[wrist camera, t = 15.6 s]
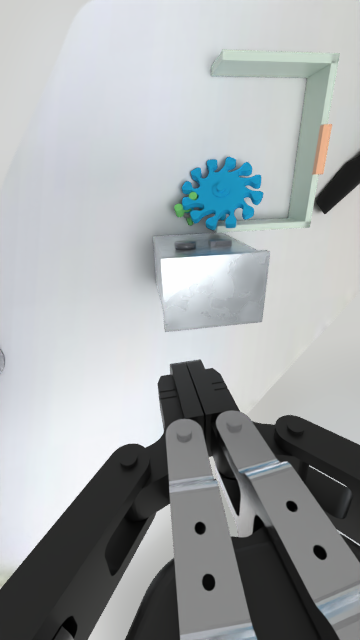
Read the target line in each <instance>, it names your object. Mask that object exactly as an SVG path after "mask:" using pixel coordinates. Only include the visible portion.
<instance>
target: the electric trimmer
mask: <svg viewBox="0 0 360 640" xmlns="http://www.w3.org/2000/svg"><path fill="white" fill-rule="evenodd" d="M359 184H360V156H358V157H357V158H355V159H353V160H351V161H349V162H347V163H346V164H345V165H344V167H343V168H342V169H341V170H340V171H339V173H338V174H337V175H336V176H335V177H334V179H333V180H332V181H331V182H330V184H329V185H328V186H327V187H326V189H325V190H324V191H323V192H322V194H321V195H320V196H319V197H318V199H317V200H316V202H317V204H318V205H319V207H320V208H321V210H322V211H323V213H324V214H326V213H327V212H328V211H329V210H331V209H332V208H333V207H334V206H335V205H336V204H337V203H338V202H339V201H341V200H342V199H343V198H344V197H345V196H346V195H347V194H348V193H350V192H351V191H352V190H353V189H354V188H355V187H356V186H357V185H359Z"/></svg>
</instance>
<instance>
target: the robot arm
mask: <svg viewBox="0 0 360 640" xmlns="http://www.w3.org/2000/svg"><path fill="white" fill-rule="evenodd" d="M4 362H5V360H4V356H3V354H2V352H1V350H0V373H1V372H2V371H3V368H4ZM158 392H159V401H160V410H161V416H162V422H163V428H164V433H163V435H162V436H161V438H160V439H159V440H158V441H157V442H155V443H154V444H152V445H150V446H148V447H146V448H144V447H143V446H141V445H139V444H127V445H124V446H122V447H120V448H118V449H117V450H116V451H115V452H114V453H113V454H112V455H111V456H110V458H109V459H108V460H107V461H106V462H105V464H104V465H103V466H102V467H101V468H100V470H99V471H98V472H97V473H96V474H95V476H94V477H93V478H92V479H91V480H90V482H89V483H88V484H87V485H86V486H85V488H84V489H83V490H82V491H81V493H80V494H79V495H78V496H77V497H76V499H75V500H74V501H73V502H72V503H71V505H70V506H69V507H68V508H67V509H66V511H65V512H64V513H63V514H62V515H61V517H60V518H59V519H58V520H57V521H56V523H55V524H54V525H53V526H52V528H51V529H50V530H49V531H48V532H47V534H46V535H45V536H44V537H43V538H42V540H41V541H40V542H39V543H38V544H37V546H36V547H35V548H34V549H33V550H32V552H31V553H30V554H29V555H28V556H27V558H26V559H25V560H24V561H23V563H22V564H21V565H20V566H19V567H18V569H17V570H16V571H15V572H14V573H13V575H12V576H11V577H10V578H9V579H8V581H7V582H6V583H5V584H4V585H3V587H2V588H1V589H0V640H88V638H89V636H90V634H91V632H92V631H93V629H94V627H95V625H96V623H97V621H98V619H99V618H100V616H101V614H102V612H103V611H104V609H105V607H106V605H107V603H108V601H109V600H110V598H111V596H112V594H113V592H114V590H115V588H116V587H117V585H118V583H119V581H120V580H121V578H122V576H123V574H124V572H125V570H126V568H127V567H128V565H129V563H130V561H131V559H132V558H133V556H134V554H135V552H136V550H137V548H138V547H139V545H140V543H141V541H142V539H143V537H144V536H145V534H146V532H147V530H148V529H149V527H150V525H151V523H152V521H153V519H154V517H155V515H156V512H157V511H159V510H160V509H162V508H164V507H165V506H167V505H168V504H170V506H171V519H172V534H173V547H174V558H173V559H172V560H171V561H170V562H168V563H167V564H166V565H165V566H164V567H163V568H162V569H161V570H160V571H159V573H158V574H157V575H156V576H155V578H154V579H153V581H152V582H151V584H150V586H149V587H148V589H147V591H146V593H145V596H144V597H143V600H142V602H141V604H140V606H139V609H138V611H137V613H136V616H135V618H134V620H133V622H132V625H131V627H130V629H129V632H128V635H127V636H126V639H125V640H360V546H359V545H357V544H356V543H354V542H353V541H351V540H350V539H348V538H347V537H345V536H343V535H342V534H339V532H338V531H337V530H339V531H340V532H342V533H343V534H345V535H346V536H348V537H349V538H351V539H353V540H354V541H356V542H357V543H359V544H360V445H359V444H356V443H354V442H352V441H350V440H348V439H346V438H343V437H341V436H339V435H337V434H335V433H333V432H331V431H329V430H326V429H324V428H322V427H320V426H318V425H315V424H313V423H311V422H309V421H307V420H305V419H303V418H300V417H297V416H293V415H286V416H282V417H280V418H279V419H278V420H277V421H276V424H275V425H271V424H261V423H255V422H253V421H251V419H250V418H249V417H248V416H247V415H245V414H244V413H242V412H240V411H239V409H238V407H237V405H236V403H235V401H234V399H233V397H232V395H231V394H230V392H229V390H228V389H227V386H226V384H225V383H224V380H223V378H222V376H221V374H220V373H218V372H217V371H216V370H214V369H213V368H210V369H205V368H204V366H203V363H202V361H201V360H194V361H187V362H180V363H174V364H170V375H165V376H161V377H160V379H159V382H158ZM211 456H213V458H214V461H215V472H216V476H217V479H218V481H219V483H220V486H221V488H222V491H223V493H224V496H225V498H226V500H227V503H228V505H229V508H230V510H231V513H232V515H233V518H234V520H235V523H236V526H237V531H238V537H231V536H230V532H229V528H228V524H227V520H226V515H225V511H224V507H223V503H222V499H221V495H220V490H219V486H218V483H217V480H216V479H214V477H213V474H212V469H211V465H210V461H209V457H211ZM309 465H310V466H312V467H314V468H316V469H318V470H319V471H321V472H323V473H325V474H326V475H328V476H330V477H332V478H334V479H335V480H337V481H339V482H341V483H342V484H344V485H346V486H347V487H345V486H343V485H341V484H340V483H338V482H336V481H334V480H332V479H331V478H329V477H327V476H325V475H324V474H322V473H320V472H318V471H317V470H315V469H313V468H311V467H309Z"/></svg>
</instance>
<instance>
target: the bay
mask: <svg viewBox="0 0 360 640" xmlns="http://www.w3.org/2000/svg"><path fill="white" fill-rule="evenodd" d="M339 56H340V53H313V52H283V51H252V50H222V52H221V53H220V55H219V56H218V58H217V59H216V61H215V62H214V64H213V65H212V67H211V76H234V77H284V78H307V83H306V90H305V98H304V105H303V112H302V119H301V127H300V134H299V141H298V148H297V156H296V163H295V170H294V177H293V185H292V192H291V199H290V206H289V214H288V218H278V219H258V220H239V221H237V222H236V227H235V228H226V226H225V221H219V222H217V227H216V229H215V230H213V231H215V232H217V233H221V232H238V231H256V230H274V229H291V228H309V227H310V223H311V217H312V211H313V205H314V200H315V194H316V188H317V182H318V177H319V174H323V172H324V167H325V161H326V155H327V150H328V144H329V139H330V133H331V128H332V124H328V119H329V113H330V107H331V102H332V96H333V90H334V84H335V79H336V73H337V67H338V61H339Z"/></svg>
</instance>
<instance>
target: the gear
mask: <svg viewBox="0 0 360 640" xmlns="http://www.w3.org/2000/svg"><path fill="white" fill-rule="evenodd" d="M217 167H218V166H217V160H215V159H213V160H208V161H207V169H208V171H209V174H208V176H207V177H206V178H201V177H202V173H201V169H200V168H196V169H194V170H192V171H191V175H192V179H193V180H195V181H197V182H198V183H199V185H200V187H199V188H196V189H195V188H193V187H192V184H191V182H189V181H186V182H185V183H184V185H183V186H182V191H183V193H184V194H186V195H187V194H189V197H184V198H183V200H182V205H183V206H182V205H181V204H176V205H175V207H174V209H175V212H176V215H177V217H182V216H184V217H185V218H187V222H188V225H190V226H191V225H193V222H194V223H198V222H199V221H200V220H201V219H202V218H203V217H204V216H206V215H209V214H215V216H213V217H210V218H208V219H207V220H206V227H207V228H209V229H211V230H215V229H216V227H217V222H218V220H224V219H225V218H226V214H229V216H228V217H227V218H226V220H225V226H226V228H235V227H236V222H237V220H236V218H235V216H234V212H235V209H237V208H242V209H243V213H242V217H243V219H245V220H246V219H249V218H251V217H252V216H253V215H254V209H253V208H252V207H250V206H249V205H247V204H246V203H245V201H244V198H246V197H249V198H251V200H252V203H253V204H255V205H258V204H259V203H260V202H261V200H262V198H263V192H261V191H252V190H249V189H248V188H246V187H245V186H247V185H249V186H251V187H253V188H255V189H258V188H260V186H261V175H255V176H253V177H250V178H241V177H239V176H249V175H251V173H252V166H251V165H250V164H249V163H248V162H246V163H244V164H243V165H242V166H241V167H240V168H239V169H237V170H235V171H232V172H228V171H229V170H232V169H234V168H235V167H236V159H234V158H231V157H227V158H226V160H225V165H224V167H223V168H222V169H221V170H220V171H219V172H214V171H216V169H217Z"/></svg>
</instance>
